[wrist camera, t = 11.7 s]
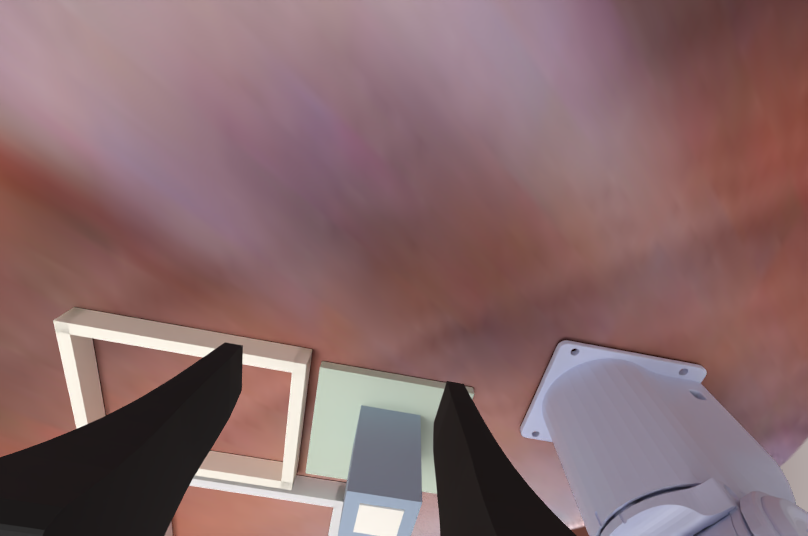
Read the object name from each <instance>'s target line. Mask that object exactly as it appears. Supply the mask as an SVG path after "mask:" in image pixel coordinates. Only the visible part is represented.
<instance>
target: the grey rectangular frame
mask: <svg viewBox="0 0 808 536" xmlns="http://www.w3.org/2000/svg"><path fill="white" fill-rule="evenodd" d="M346 484H347V483H344V482H338V481H331V480H325V479H318V478H312V477H306V476H299V475H296V478H295V481H294V484H293V488H292V490H287V489H280V488H274V487H267V486H261V485H254V484H247V483H241V482H234V481H228V480H221V479H215V478H208V477H202V476H194V478H193V479H192V481H191V483H190V485H189V486H196V487H203V488H209V489H216V490H222V491H229V492H235V493H242V494H249V495H255V496H262V497H268V498H275V499H282V500H288V501H295V502H301V503H308V504H314V505H321V506H328V507H334V508H333V513H332V518H331V523H330V528H329V534H328V536H338V530H339V525H340V519H341V513H342V507H343V501H344V495H345V489H346ZM165 536H173V532H172V521H171V523H170V525H169V527H168V529H167V531H166V533H165Z"/></svg>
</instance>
